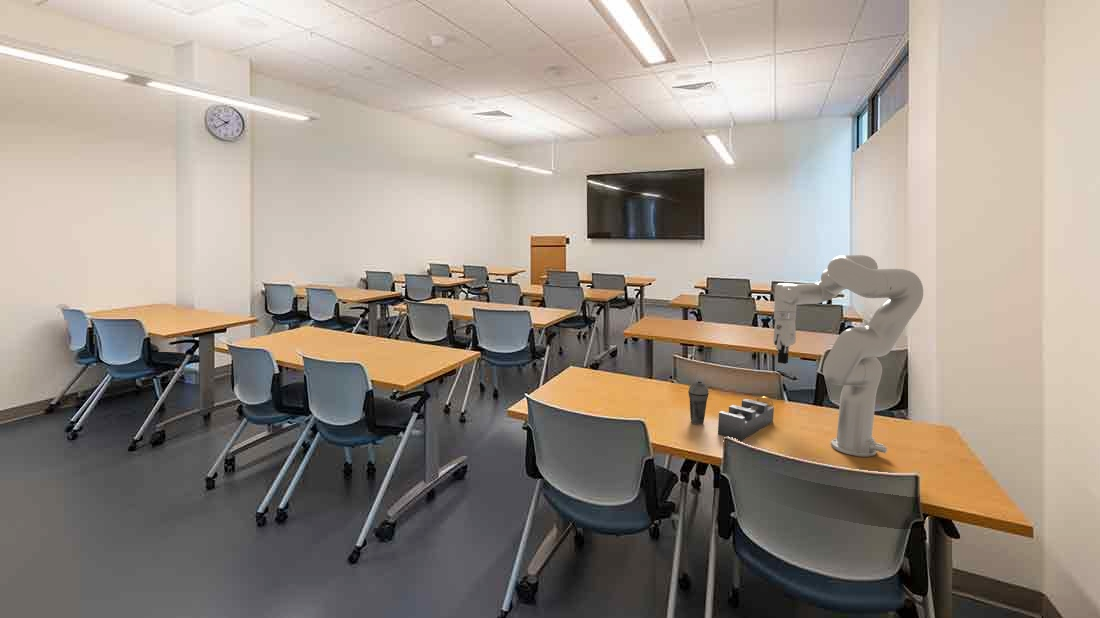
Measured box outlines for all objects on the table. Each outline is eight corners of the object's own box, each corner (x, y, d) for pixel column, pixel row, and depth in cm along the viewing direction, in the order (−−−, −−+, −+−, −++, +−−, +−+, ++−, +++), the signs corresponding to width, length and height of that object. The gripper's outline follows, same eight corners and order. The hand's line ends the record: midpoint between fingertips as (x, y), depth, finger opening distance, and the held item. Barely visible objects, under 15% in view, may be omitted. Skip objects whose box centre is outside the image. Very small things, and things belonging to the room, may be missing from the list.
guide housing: (772, 422, 183) (774, 400, 182) (741, 441, 166) (742, 417, 165) (750, 416, 189) (752, 395, 188) (717, 434, 172) (719, 411, 171)
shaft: (772, 413, 186) (773, 398, 185) (741, 431, 168) (742, 414, 167) (757, 409, 190) (757, 394, 189) (725, 426, 173) (726, 410, 172)
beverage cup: (709, 426, 179) (712, 373, 176) (689, 426, 179) (692, 372, 177) (704, 419, 186) (706, 367, 184) (684, 418, 187) (686, 367, 184)
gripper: (787, 318, 179) (785, 367, 181) (802, 314, 189) (800, 361, 191) (766, 316, 184) (764, 364, 186) (782, 313, 195) (780, 358, 197)
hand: (782, 362), depth 189 cm, fingers closed
